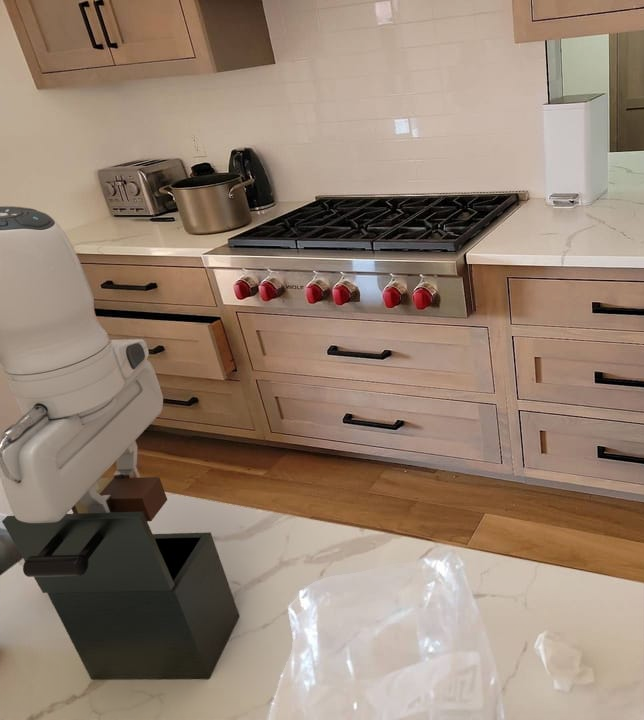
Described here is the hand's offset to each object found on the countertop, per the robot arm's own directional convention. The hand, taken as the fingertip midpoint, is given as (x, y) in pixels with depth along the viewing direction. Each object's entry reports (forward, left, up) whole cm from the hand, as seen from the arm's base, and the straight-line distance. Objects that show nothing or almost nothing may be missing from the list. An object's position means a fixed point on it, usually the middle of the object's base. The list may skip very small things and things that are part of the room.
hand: (117, 498), depth 70 cm
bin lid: (-4, -3, -2) cm, 6 cm away
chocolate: (0, 0, -2) cm, 2 cm away
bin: (-1, -1, -20) cm, 20 cm away
